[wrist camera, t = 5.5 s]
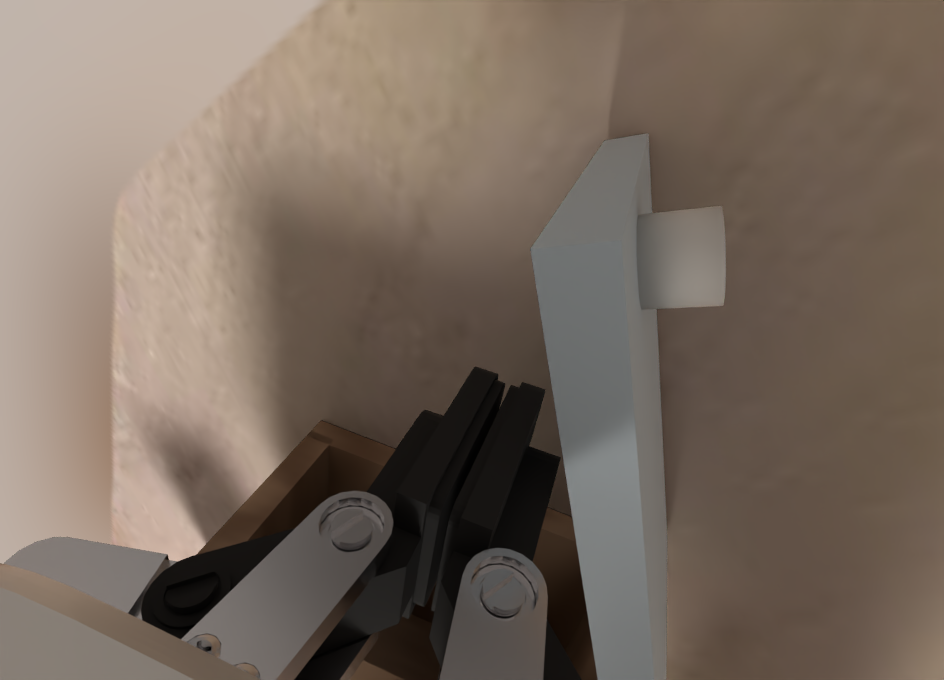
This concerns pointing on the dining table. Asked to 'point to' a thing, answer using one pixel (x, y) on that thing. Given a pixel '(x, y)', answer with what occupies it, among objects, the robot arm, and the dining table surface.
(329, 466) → the cabinet
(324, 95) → the dining table surface
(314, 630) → the robot arm
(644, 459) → the side door
